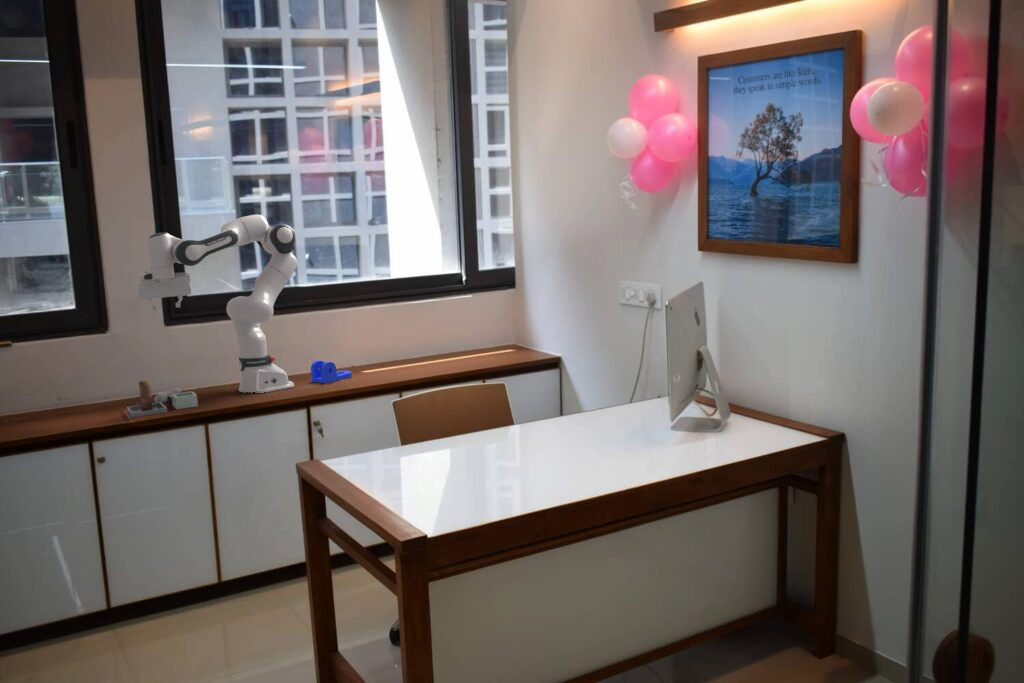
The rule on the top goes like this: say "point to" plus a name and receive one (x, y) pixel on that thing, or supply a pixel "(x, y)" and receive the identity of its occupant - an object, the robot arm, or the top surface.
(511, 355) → the top surface
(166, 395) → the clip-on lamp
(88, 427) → the top surface
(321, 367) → the bracket
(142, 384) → the walnut dowel
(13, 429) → the top surface
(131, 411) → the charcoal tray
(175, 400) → the sage pot
